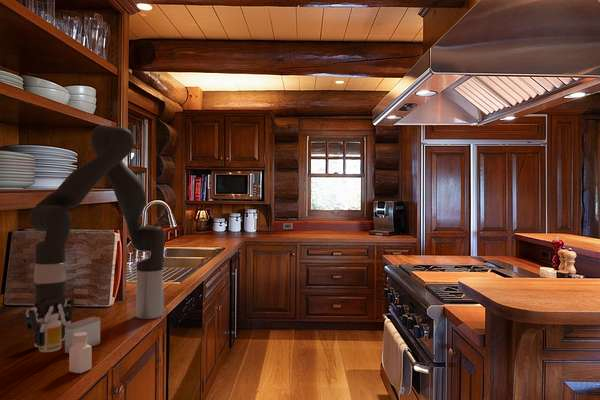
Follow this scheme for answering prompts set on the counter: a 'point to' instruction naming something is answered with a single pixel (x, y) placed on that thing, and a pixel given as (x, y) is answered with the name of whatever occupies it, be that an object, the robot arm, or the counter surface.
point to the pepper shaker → (80, 354)
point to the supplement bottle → (52, 334)
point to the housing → (85, 325)
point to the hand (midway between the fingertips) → (50, 341)
